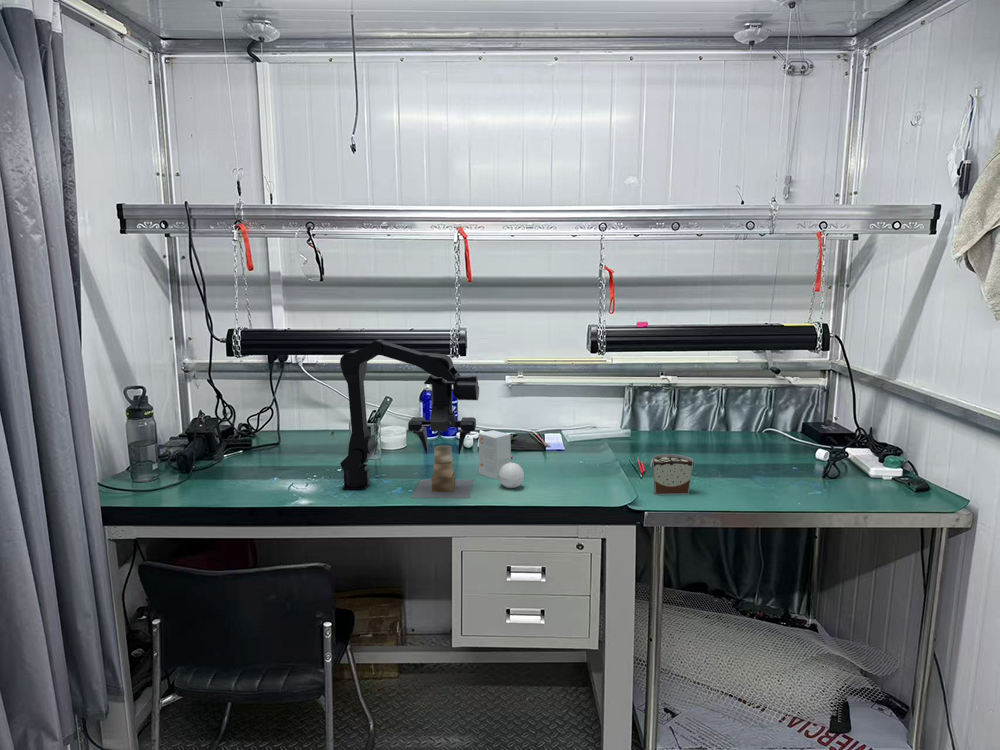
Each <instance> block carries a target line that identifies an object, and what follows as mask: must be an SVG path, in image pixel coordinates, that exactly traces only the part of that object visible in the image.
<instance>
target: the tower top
mask: <svg viewBox="0 0 1000 750" xmlns="http://www.w3.org/2000/svg"><path fill="white" fill-rule="evenodd" d="M453 472H454V459H453V458H452V462H451V463H447V464H438V463H435V462H433V474H434V478H452V475H453Z"/></svg>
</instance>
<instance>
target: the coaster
mask: <svg viewBox="0 0 1000 750" xmlns="http://www.w3.org/2000/svg"><path fill="white" fill-rule="evenodd" d="M474 481H475V479H455V482H456V485H455V488H454V491H453V492H432V479H430V478H429V479H420V480H419V482H418V484H417V486H416V488H415V490H414V492H413V493H412V495H411V499H470V498H471V493H472V489H473V486H474Z"/></svg>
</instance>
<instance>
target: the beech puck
mask: <svg viewBox="0 0 1000 750" xmlns="http://www.w3.org/2000/svg"><path fill="white" fill-rule="evenodd" d="M433 453H434V454H433V456H434V457H433V458H434V462H435V463H438V464H447V463H451V462H452V459H453V447H452V446H450V445H437V446H434V447H433ZM434 462H433V463H434Z"/></svg>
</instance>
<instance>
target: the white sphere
mask: <svg viewBox="0 0 1000 750" xmlns="http://www.w3.org/2000/svg"><path fill="white" fill-rule="evenodd" d="M524 472H525V471H524V469H523V467H521V466H520V464H518V463H515V462H511V463H507V464H505V465H504V466H502V467H501V469H500V471H499V478H498V480H499V481H500V483H501V484H502V485H503V486H504V487H505V488H508V489H515V488H518V487H519V486H520V485H522V483H523V482H524V478H525V473H524ZM493 476H496V475H493Z"/></svg>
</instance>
